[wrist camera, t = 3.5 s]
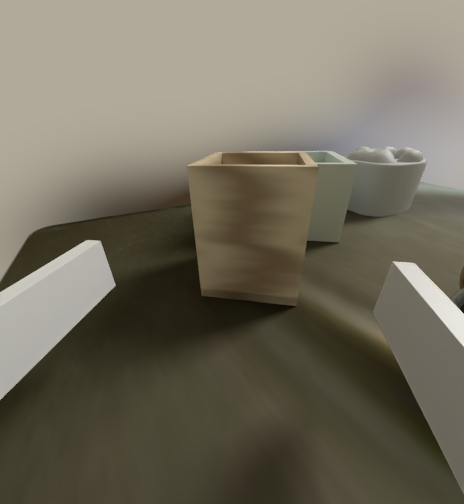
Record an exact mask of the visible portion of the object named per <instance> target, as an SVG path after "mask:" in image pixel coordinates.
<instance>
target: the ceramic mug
mask: <svg viewBox="0 0 464 504" xmlns="http://www.w3.org/2000/svg"><path fill="white" fill-rule="evenodd" d="M459 284H460V289H461V290H459V291H457V292H456V294H454V295H453V296H452V297H451V299H450V300H451V301H452V302H453V303H454V304H455V305H456V306H457V307H458V308H459V309H460V308H461V307H462V306H463V305H464V267H463V269H462V272H461V276H460V283H459Z"/></svg>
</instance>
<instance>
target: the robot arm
mask: <svg viewBox="0 0 464 504" xmlns="http://www.w3.org/2000/svg"><path fill="white" fill-rule="evenodd" d="M115 286H116V285H115V282H114V279H113V276H112V273H111V270H110V267H109V264H108V262H107V259H106V256H105V253H104V250H103V247H102V244H101V241H92V240H86V241H85V242H83V243H81V244H80V245H78V246H76V247H75V248H73V249H71V250H70V251H68V252H66V253H65V254H63V255H61V256H60V257H58V258H56V259H55V260H53V261H51V262H50V263H48V264H46V265H45V266H43V267H42V268H40V269H38V270H37V271H35V272H33V273H32V274H30V275H28V276H27V277H25V278H23V279H22V280H20V281H18V282H17V283H15V284H13V285H12V286H10V287H8V288H7V289H5V290H3V291H2V292H0V400H1V399H2V398H3V397H4V396H5V395H6V394H7V393H8V392H9V391H10V390H11V389H12V388H13V387H14V386H15V385H16V384H17V383H18V382H19V381H20V380H21V379H22V378H23V377H24V376H25V375H26V374H27V373H28V372H29V371H30V370H31V369H32V368H33V367H34V366H35V365H36V364H37V363H38V362H39V361H40V360H41V359H42V358H43V357H44V356H45V355H46V354H47V353H48V352H49V351H50V350H51V349H52V348H53V347H54V346H55V345H56V344H57V343H58V342H59V341H60V340H61V339H62V338H63V337H64V336H65V335H66V334H67V333H68V332H69V331H70V330H71V329H72V328H73V327H74V326H75V325H76V324H77V323H78V322H79V321H80V320H81V319H82V318H83V317H84V316H85V315H86V314H87V313H88V312H89V311H90V310H91V309H93V308H94V307H95V306H96V305H97V304H98V303H99V302H100V301H101V300H102V299H103V298H104V297H105V296H106V295H107V294H108V293H109V292H110V291H111V290H112V289H113V288H114V287H115ZM373 314H374V316H375V318H376V320H377V322H378V324H379V326H380V328H381V330H382V332H383V334H384V336H385V338H386V340H387V342H388V344H389V346H390V348H391V350H392V352H393V354H394V356H395V358H396V360H397V362H398V364H399V366H400V368H401V370H402V372H403V374H404V376H405V378H406V380H407V382H408V384H409V386H410V388H411V390H412V392H413V394H414V396H415V398H416V400H417V402H418V404H419V406H420V408H421V410H422V412H423V414H424V416H425V418H426V420H427V422H428V424H429V426H430V428H431V430H432V432H433V434H434V436H435V438H436V440H437V442H438V444H439V446H440V448H441V450H442V452H443V454H444V456H445V458H446V460H447V462H448V464H449V466H450V468H451V470H452V472H453V474H454V476H455V478H456V480H457V482H458V484H459V486H460V488H461V490H462V492H463V494H464V313H463V312H462V311H461V310H460V309H459V308H458V307H457V306H456V305H455V304H454V303H453V302H452V301H451V300H450V299H449V298H448V297H447V296H446V295H445V294H444V293H443V292H442V291H441V290H440V289H439V288H438V287H437V286H436V285H435V284H434V283H433V282H432V281H431V280H430V279H429V278H428V277H427V276H426V275H425V274H424V272H423V271H422V270H421V269H420V268H419V267H418V266H417V265H416V264H415V263H407V262H392V265H391V267H390V270H389V272H388V275H387V277H386V280H385V282H384V285H383V288H382V290H381V293H380V295H379V298H378V300H377V303H376V305H375V308H374V311H373Z"/></svg>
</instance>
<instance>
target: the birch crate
mask: <svg viewBox="0 0 464 504" xmlns="http://www.w3.org/2000/svg"><path fill="white" fill-rule="evenodd" d="M318 170H319V166H318V165H317V164H316V163H315V162H314V161H313V160H312V159H311V158H310V156H309V155H308V154H307V153H306V152H216V153H214V154H212V155H210V156H207V157H205V158H203V159H201V160H198V161H196V162H194V163H192V164H190V165H188V166H187V171H188V180H189V189H190V198H191V207H192V216H193V224H194V233H195V242H196V251H197V260H198V269H199V278H200V287H201V296H208V297H218V298H227V299H236V300H245V301H254V302H263V303H273V304H282V305H291V306H297V300H298V293H299V287H300V281H301V275H302V269H303V262H304V256H305V250H306V244H307V238H308V231H309V225H310V219H311V213H312V207H313V200H314V194H315V188H316V182H317V176H318Z"/></svg>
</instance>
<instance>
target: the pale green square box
mask: <svg viewBox="0 0 464 504" xmlns="http://www.w3.org/2000/svg"><path fill="white" fill-rule="evenodd" d="M246 152H306V153H307V154H308V155H309V156H310V158H311V159H312V160H313V161H314V162H315V163H316V164H317V165H318V166H319V170H318V176H317V182H316V188H315V194H314V200H313V207H312V213H311V219H310V225H309V231H308V238H307V241H324V242H339V241H340V237H341V233H342V229H343V225H344V220H345V216H346V212H347V208H348V204H349V200H350V196H351V191H352V187H353V183H354V179H355V175H356V171H357V167H358V164H357V163H355V162H353V161H351V160H349V159H347V158H345V157H343V156H341V155H339V154H337V153H335V152H333V151H246Z"/></svg>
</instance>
